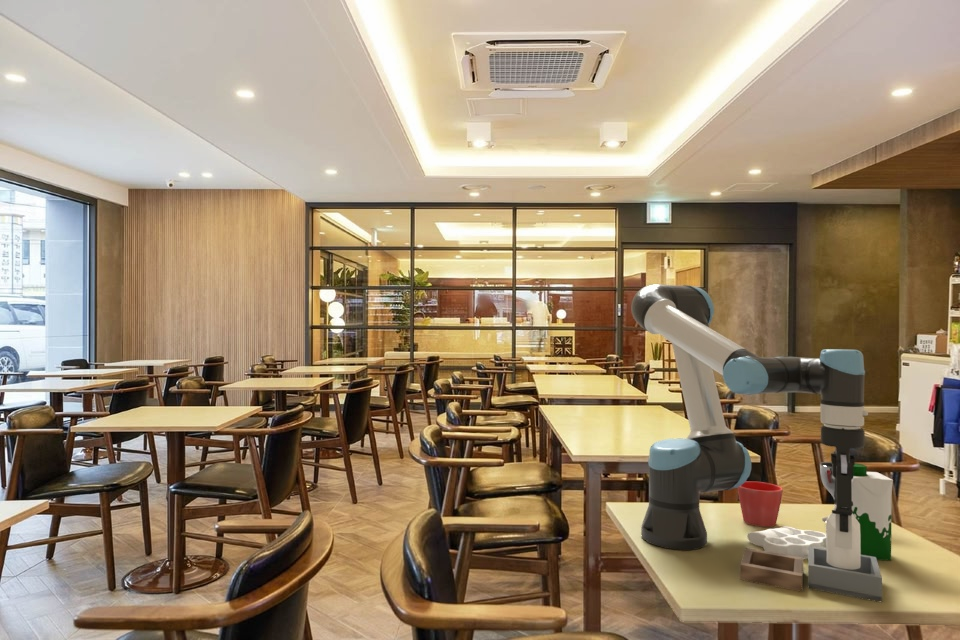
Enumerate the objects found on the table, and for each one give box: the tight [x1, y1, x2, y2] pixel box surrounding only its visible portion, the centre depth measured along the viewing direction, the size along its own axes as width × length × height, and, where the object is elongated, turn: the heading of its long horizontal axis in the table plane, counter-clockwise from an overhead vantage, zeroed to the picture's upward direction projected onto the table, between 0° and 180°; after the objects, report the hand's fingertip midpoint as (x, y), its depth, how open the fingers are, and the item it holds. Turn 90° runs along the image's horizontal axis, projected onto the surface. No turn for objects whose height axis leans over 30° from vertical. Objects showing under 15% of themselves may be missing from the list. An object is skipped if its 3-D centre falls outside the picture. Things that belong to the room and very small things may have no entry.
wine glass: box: [819, 461, 836, 523], centre depth 158 cm, size 8×8×15 cm
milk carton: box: [852, 462, 894, 562], centre depth 135 cm, size 9×9×20 cm
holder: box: [739, 547, 804, 593], centre depth 122 cm, size 11×11×3 cm
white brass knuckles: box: [746, 525, 827, 560], centre depth 138 cm, size 3×18×15 cm
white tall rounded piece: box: [825, 507, 861, 570], centre depth 118 cm, size 6×12×6 cm
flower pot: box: [736, 480, 784, 528], centre depth 156 cm, size 11×11×10 cm
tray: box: [807, 546, 883, 602], centre depth 118 cm, size 12×12×4 cm
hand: (842, 542), depth 118 cm, fingers closed on white tall rounded piece, 5 cm apart
